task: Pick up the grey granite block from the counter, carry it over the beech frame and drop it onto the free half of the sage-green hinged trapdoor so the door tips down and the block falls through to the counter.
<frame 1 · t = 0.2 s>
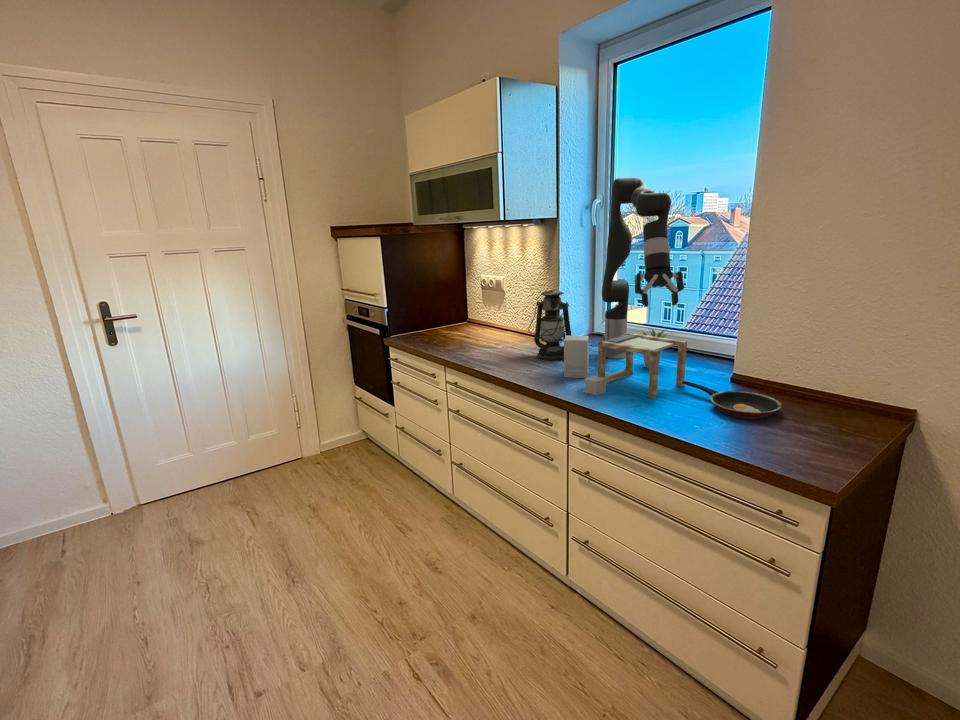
hand: (660, 305, 149), 31 cm above the worktop, tool tilted 20°, fingers open, 8 cm apart
trapdoor: (638, 347, 169), point 14 cm above the worktop, hinge at 0.0°
house plant: (655, 367, 193), on the worktop
frame: (643, 385, 171), on the worktop
lantern: (550, 358, 214), on the worktop
frying pan: (724, 405, 150), on the worktop
supplement box: (576, 375, 188), on the worktop
stone: (595, 392, 167), on the worktop
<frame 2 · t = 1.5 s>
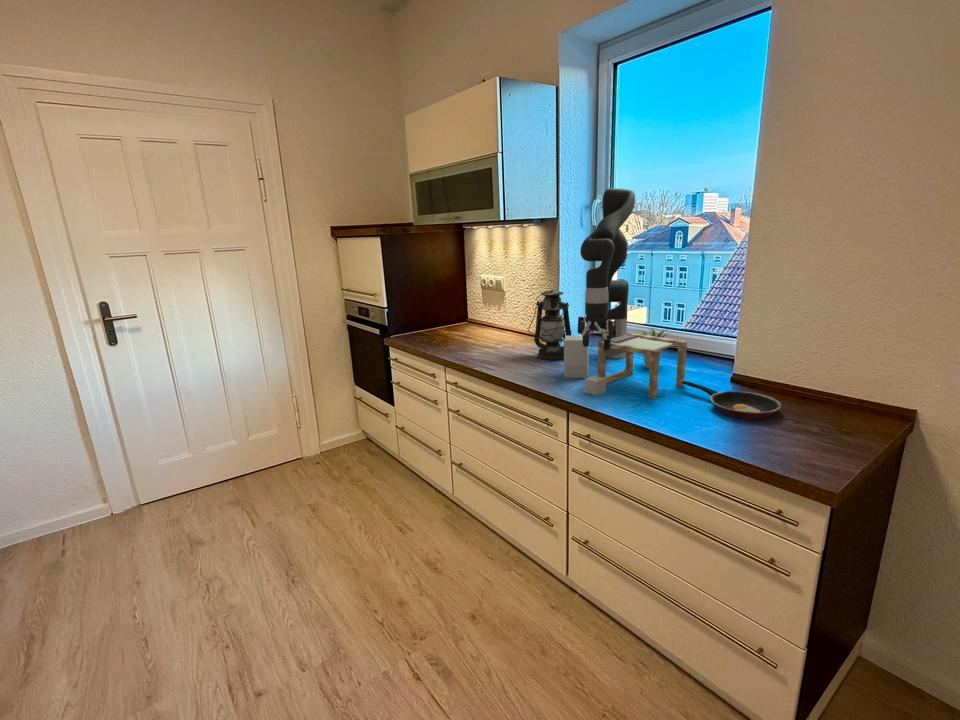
hand: (596, 348, 163), 16 cm above the worktop, tool pointing down, fingers open, 8 cm apart
nothing on the worktop moved.
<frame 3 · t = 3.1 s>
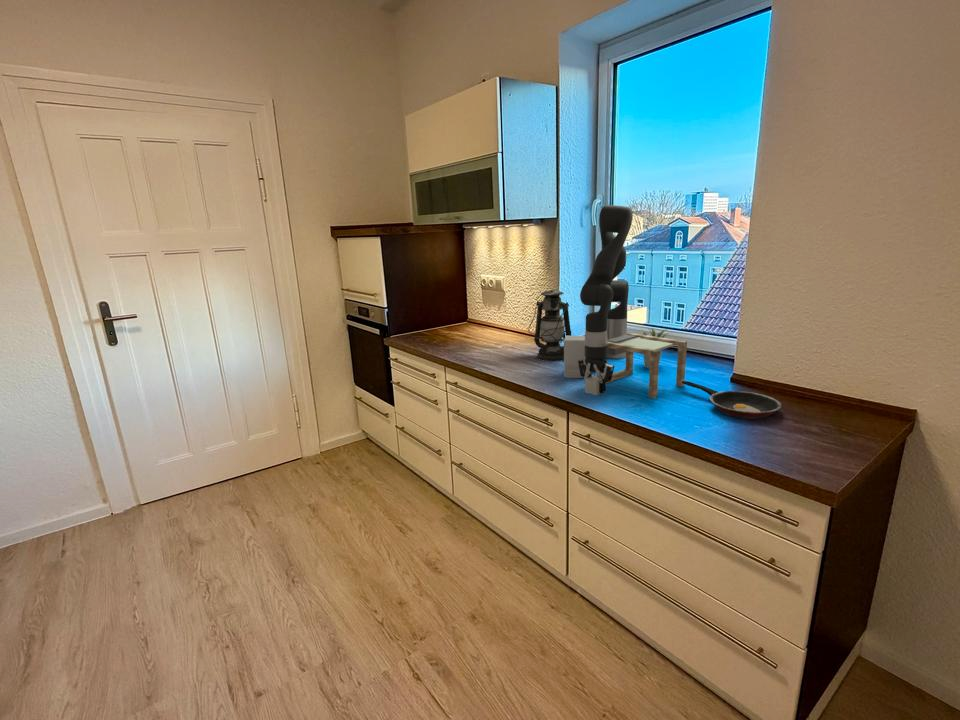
hand: (595, 390, 167), 0 cm above the worktop, tool pointing down, fingers closed on stone, 5 cm apart
stone: (595, 392, 167), on the worktop, touching gripper
everything else where it was.
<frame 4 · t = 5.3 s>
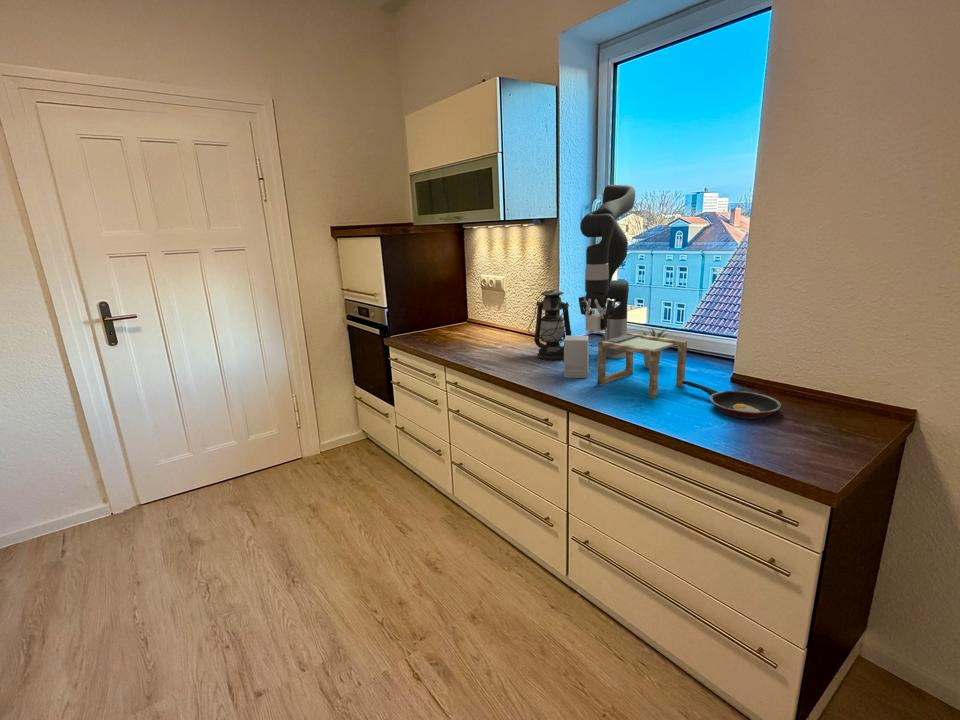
hand: (596, 328, 161), 23 cm above the worktop, tool pointing down, fingers closed on stone, 5 cm apart
stone: (596, 329, 161), point 22 cm above the worktop, touching gripper
everything else where it was.
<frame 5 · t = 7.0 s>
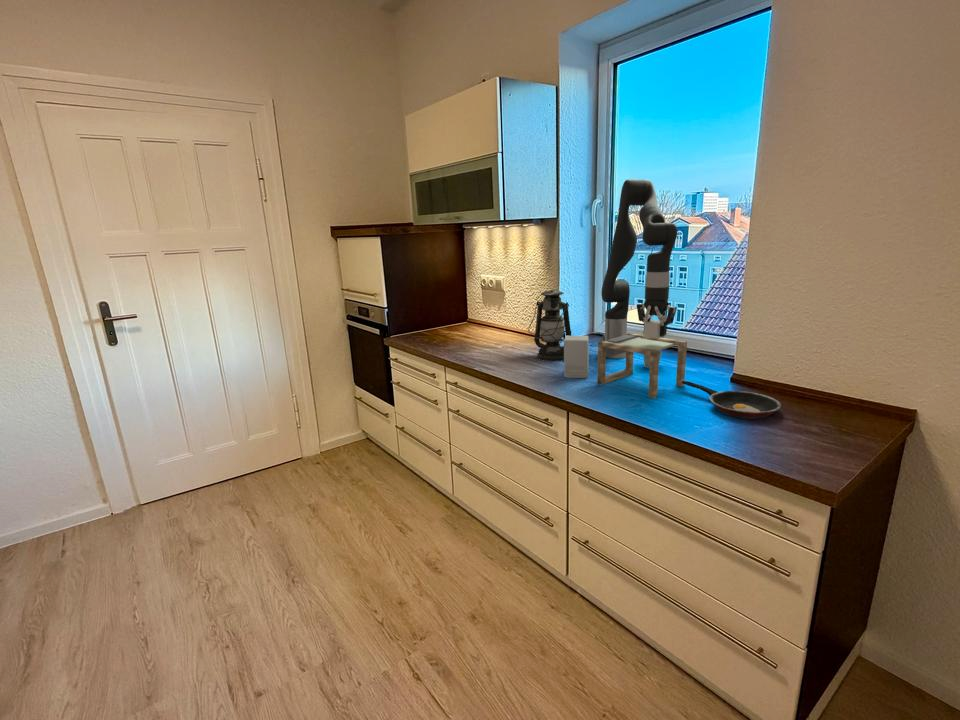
hand: (654, 334, 164), 19 cm above the worktop, tool pointing down, fingers closed on stone, 5 cm apart
stone: (654, 336, 164), point 18 cm above the worktop, touching gripper
everything else where it was.
when the fingers open (19 cm above the worktop, at t = 7.4 s): stone drops 16 cm and tips over, point 2 cm above the worktop.
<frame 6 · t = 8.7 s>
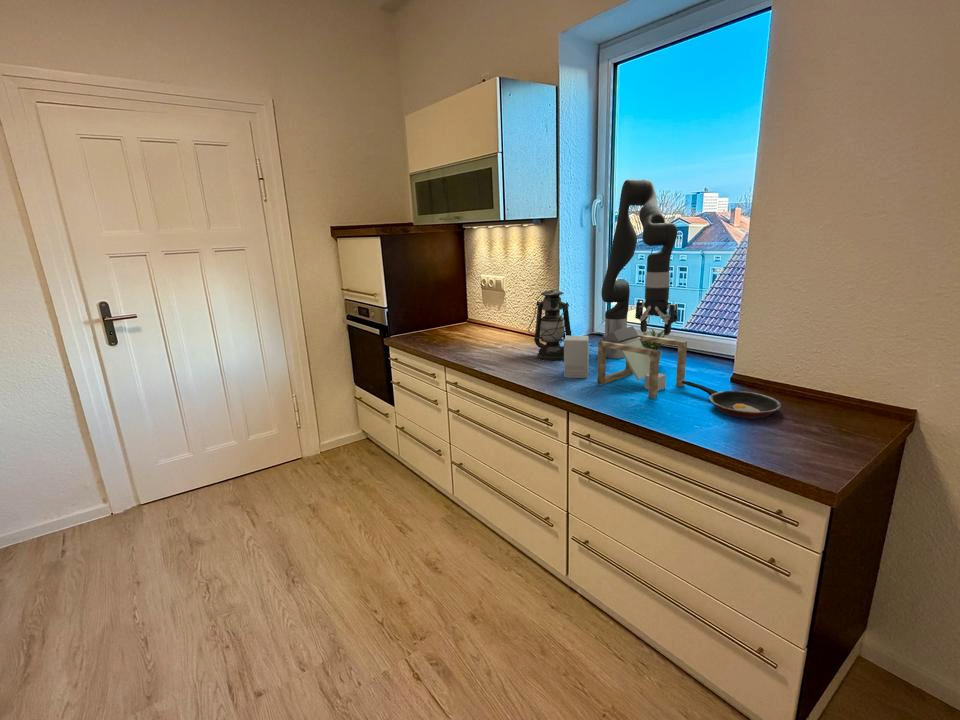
hand: (655, 333, 163), 20 cm above the worktop, tool pointing down, fingers open, 8 cm apart
trapdoor: (631, 354, 172), point 11 cm above the worktop, hinge at -52.4°
stone: (648, 380, 169), point 2 cm above the worktop, tilted 90°
everything else where it was.
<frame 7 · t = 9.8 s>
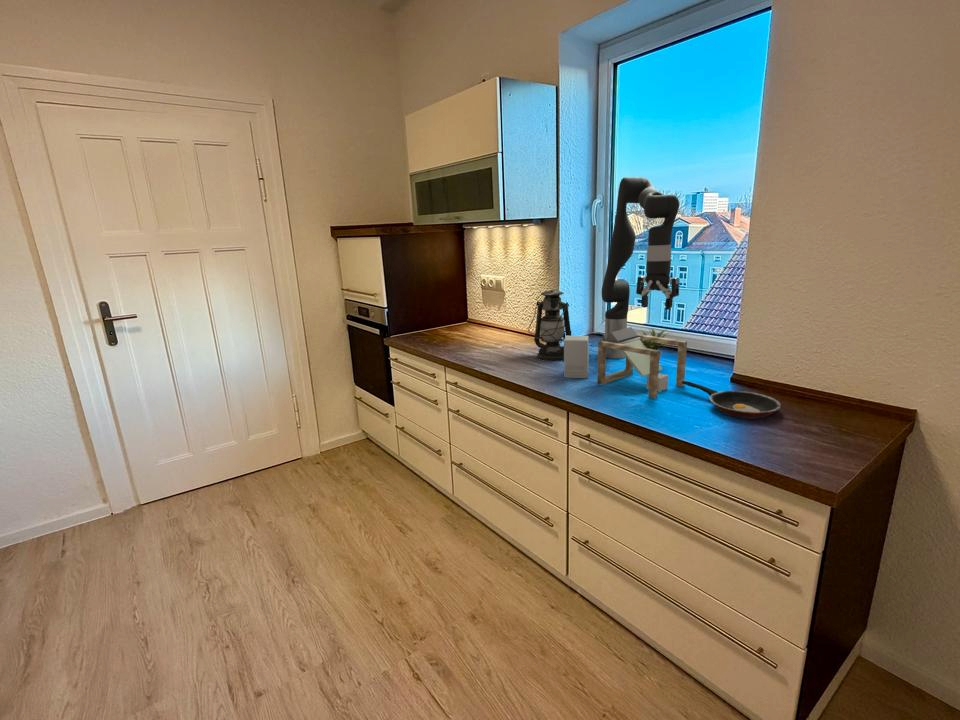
hand: (656, 308, 161), 28 cm above the worktop, tool pointing down, fingers open, 8 cm apart
trapdoor: (633, 354, 172), point 11 cm above the worktop, hinge at -43.0°
everything else where it was.
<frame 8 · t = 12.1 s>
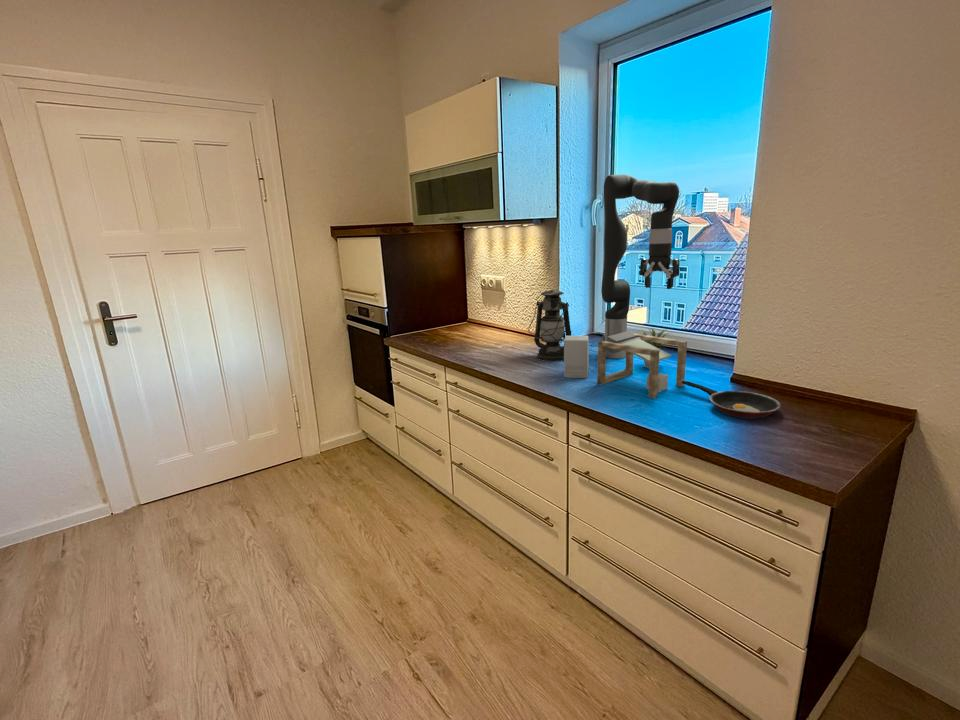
hand: (658, 288, 173), 33 cm above the worktop, tool pointing down, fingers open, 8 cm apart
trapdoor: (637, 351, 170), point 12 cm above the worktop, hinge at -17.1°
everything else where it was.
at the end: stone point 2.4 cm above the worktop; stone inside the target area (0.3 cm from its centre), point 2.4 cm above the worktop; the gripper is holding nothing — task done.
